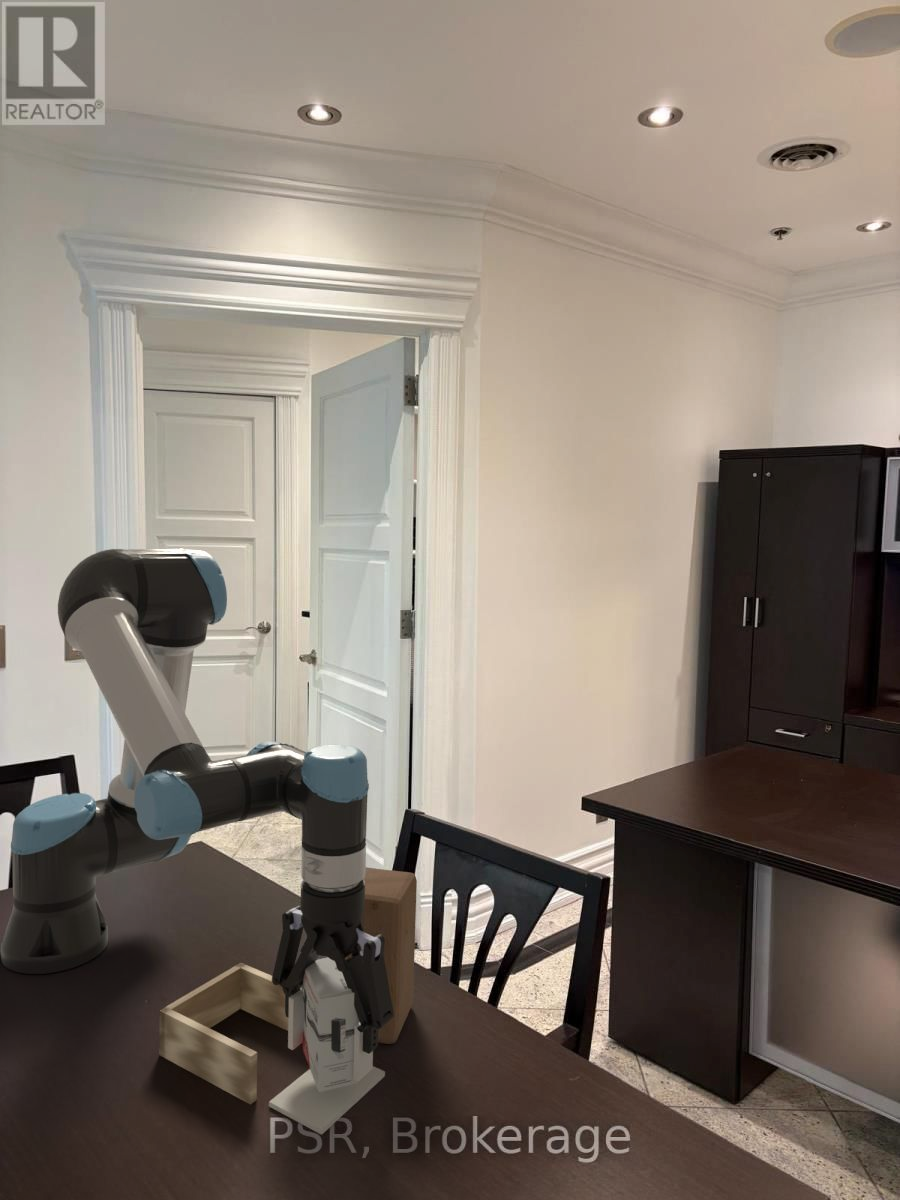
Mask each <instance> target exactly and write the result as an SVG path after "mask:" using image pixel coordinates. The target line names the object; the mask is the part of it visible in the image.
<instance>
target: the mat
mask: <svg viewBox="0 0 900 1200" xmlns="http://www.w3.org/2000/svg"><path fill="white" fill-rule="evenodd" d="M385 1076H386V1071H384V1070H382V1069H381V1068H378V1067H376V1066H374V1065H373V1069H372V1070H371V1071H370V1072H368V1073H367V1074H366V1075H365V1076H364V1077H363V1078H362V1079H361V1080H360V1081H358V1083H356V1084H352V1085H348V1086H344V1087H340V1088H335V1089H331V1090H327V1091H323V1092H319V1091H318V1089H317V1086H316V1083H315V1081H314V1078H313V1075H312V1073H311V1070H310V1068H308V1070H306V1071H305V1072H304V1073H303V1074H301V1075H300V1076H299V1077H298V1078H296V1079H295V1080H294V1081H293V1082H292V1083H290V1084H289V1085H288V1086H287V1087H285V1088H284V1089H283V1090H282V1091H281V1092H279V1093H278V1094H277V1095H275V1096H274V1097H273V1098H272V1099H270V1100H269V1101H268V1107H269V1108H271V1109H273V1110H275V1111H276V1112H278V1113H280V1114H282V1115H284V1116H286V1117H288V1118H290V1119H292V1120H293V1121H295V1122H297V1123H298V1124H301V1125H303V1126H305V1127H306V1128H308V1129H310V1130H312V1131H314V1132H315V1133H316V1134H319V1135H321V1136H322V1135H323V1134H325V1132H326V1131H327V1130H329V1129H330V1127H332V1126H333V1125H334V1124H335V1123H336V1122H337V1121H338V1120H339V1119H340V1118H341V1117H342V1116H344V1115H345V1114H346V1113H347V1112H348V1111H349V1110H350V1109H351V1108H352V1107H353V1106H354V1105H355V1104H357V1103H358V1102H359V1101H360V1100H361V1099H362V1098H363V1097H365V1095H366V1094H367V1093H368V1092H370V1091H371V1090H372V1089H373V1088H374V1087H375V1086H376V1085H377V1084H378V1083H379V1082H380V1081H381V1080H382V1079H383V1078H385Z"/></svg>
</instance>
